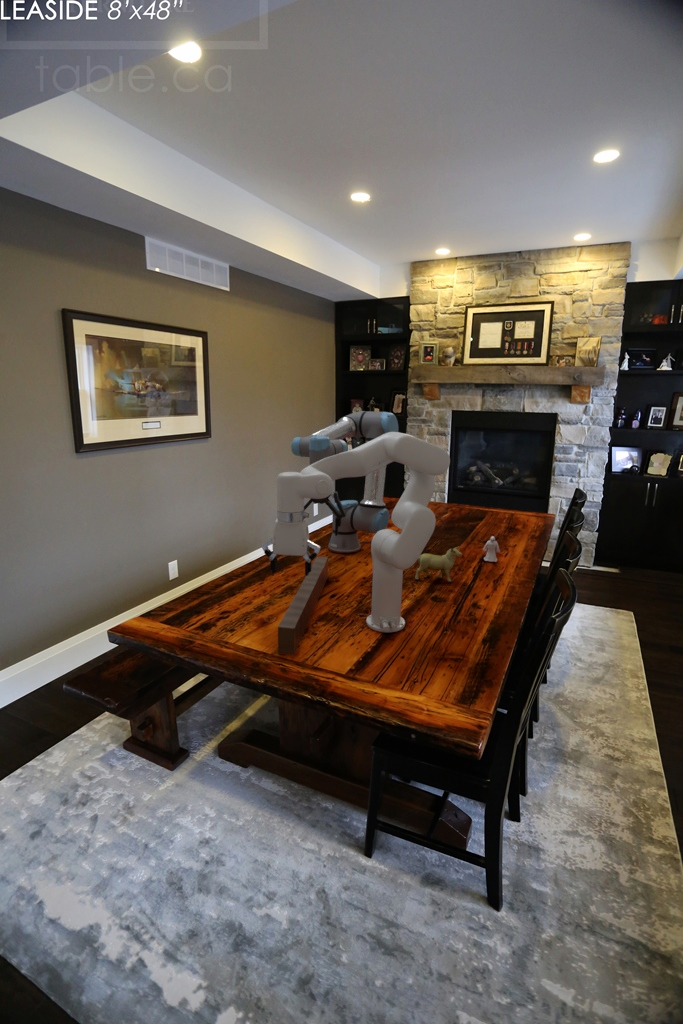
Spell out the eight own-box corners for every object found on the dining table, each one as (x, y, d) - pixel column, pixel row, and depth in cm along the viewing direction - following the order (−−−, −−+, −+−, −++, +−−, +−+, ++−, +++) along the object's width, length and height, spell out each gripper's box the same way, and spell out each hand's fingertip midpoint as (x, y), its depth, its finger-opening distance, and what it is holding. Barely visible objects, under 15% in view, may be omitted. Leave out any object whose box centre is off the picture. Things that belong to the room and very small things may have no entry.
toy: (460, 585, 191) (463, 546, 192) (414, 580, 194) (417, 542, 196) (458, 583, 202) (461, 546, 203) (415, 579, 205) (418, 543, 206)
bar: (294, 654, 143) (294, 628, 141) (278, 653, 144) (277, 626, 142) (328, 576, 202) (328, 557, 200) (316, 576, 202) (316, 556, 200)
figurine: (481, 562, 222) (483, 536, 219) (482, 556, 230) (484, 531, 227) (499, 564, 220) (501, 538, 217) (499, 558, 228) (501, 533, 225)
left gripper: (354, 478, 187) (352, 532, 192) (288, 475, 190) (289, 529, 195) (351, 481, 180) (350, 538, 185) (284, 478, 183) (284, 534, 188)
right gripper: (323, 514, 144) (322, 570, 148) (264, 511, 146) (265, 566, 150) (318, 521, 136) (318, 579, 141) (257, 517, 139) (258, 575, 143)
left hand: (318, 533), depth 190 cm, fingers open, 13 cm apart
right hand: (291, 572), depth 145 cm, fingers open, 9 cm apart
